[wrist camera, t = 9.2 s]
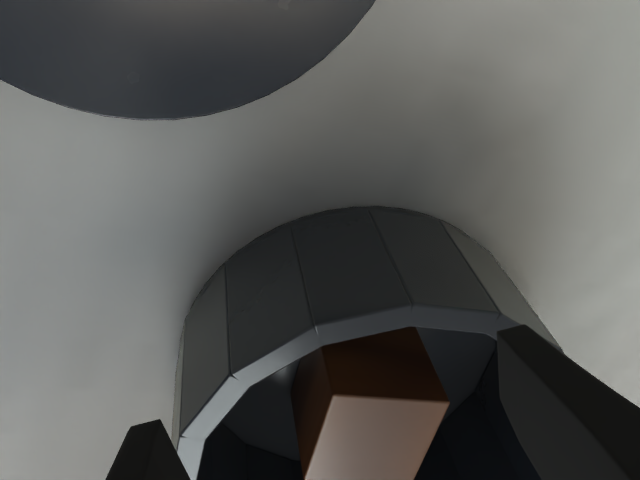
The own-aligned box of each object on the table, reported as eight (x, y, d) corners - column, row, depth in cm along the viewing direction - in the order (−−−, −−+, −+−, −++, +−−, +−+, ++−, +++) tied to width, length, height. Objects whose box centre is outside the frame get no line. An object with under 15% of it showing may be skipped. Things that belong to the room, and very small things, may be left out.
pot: (160, 459, 26) (148, 597, 21) (207, 177, 20) (207, 281, 15) (444, 469, 30) (492, 590, 25) (563, 232, 23) (660, 331, 18)
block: (289, 394, 25) (302, 481, 21) (313, 313, 23) (332, 395, 19) (384, 400, 26) (412, 484, 22) (415, 324, 24) (451, 402, 20)
